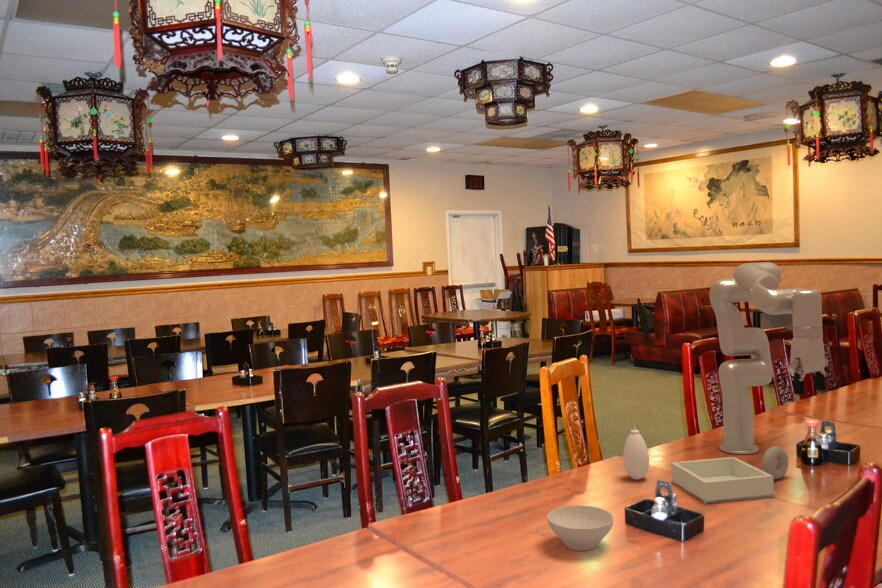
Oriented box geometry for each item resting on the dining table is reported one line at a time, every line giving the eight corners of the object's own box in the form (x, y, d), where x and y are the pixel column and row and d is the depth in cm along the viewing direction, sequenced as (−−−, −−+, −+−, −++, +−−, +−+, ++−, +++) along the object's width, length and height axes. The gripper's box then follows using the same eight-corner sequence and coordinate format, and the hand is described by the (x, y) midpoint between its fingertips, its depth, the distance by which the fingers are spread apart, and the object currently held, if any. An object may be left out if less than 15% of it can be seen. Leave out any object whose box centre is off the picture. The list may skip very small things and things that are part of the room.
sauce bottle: (650, 483, 214) (648, 424, 214) (624, 482, 216) (622, 424, 215) (648, 475, 222) (646, 419, 221) (623, 475, 224) (620, 419, 223)
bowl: (568, 527, 182) (567, 501, 182) (626, 540, 172) (624, 512, 172) (535, 549, 170) (534, 520, 170) (596, 564, 160) (594, 534, 160)
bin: (671, 481, 214) (671, 462, 214) (734, 475, 217) (733, 456, 217) (705, 504, 194) (704, 482, 194) (774, 497, 197) (773, 476, 196)
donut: (781, 474, 216) (780, 442, 216) (791, 477, 213) (790, 444, 213) (760, 480, 211) (759, 448, 211) (770, 483, 208) (769, 450, 208)
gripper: (813, 329, 208) (815, 386, 209) (776, 334, 199) (778, 394, 200) (838, 330, 202) (840, 389, 202) (801, 336, 193) (803, 398, 194)
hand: (809, 392), depth 201 cm, fingers open, 9 cm apart
